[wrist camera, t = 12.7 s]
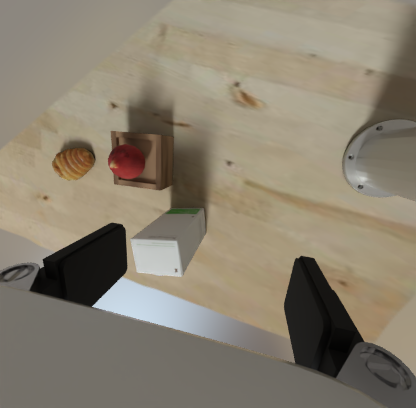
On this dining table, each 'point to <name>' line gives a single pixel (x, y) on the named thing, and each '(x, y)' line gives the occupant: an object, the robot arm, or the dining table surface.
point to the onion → (126, 161)
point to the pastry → (73, 163)
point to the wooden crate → (148, 159)
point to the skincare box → (169, 242)
